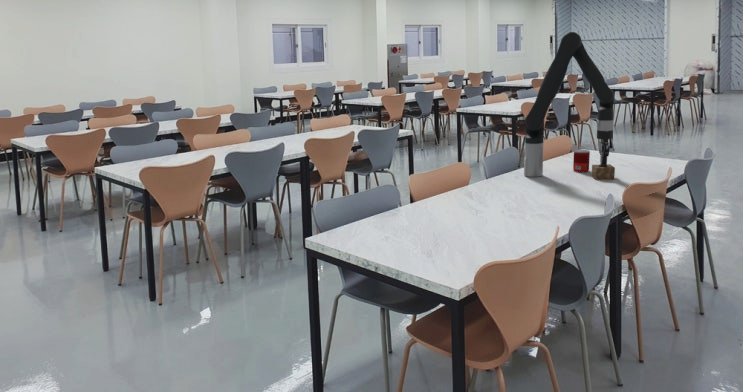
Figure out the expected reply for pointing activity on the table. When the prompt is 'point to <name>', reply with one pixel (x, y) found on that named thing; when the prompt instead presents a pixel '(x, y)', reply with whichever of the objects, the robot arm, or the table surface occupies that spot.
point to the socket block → (603, 172)
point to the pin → (601, 161)
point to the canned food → (581, 160)
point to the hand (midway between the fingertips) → (603, 163)
